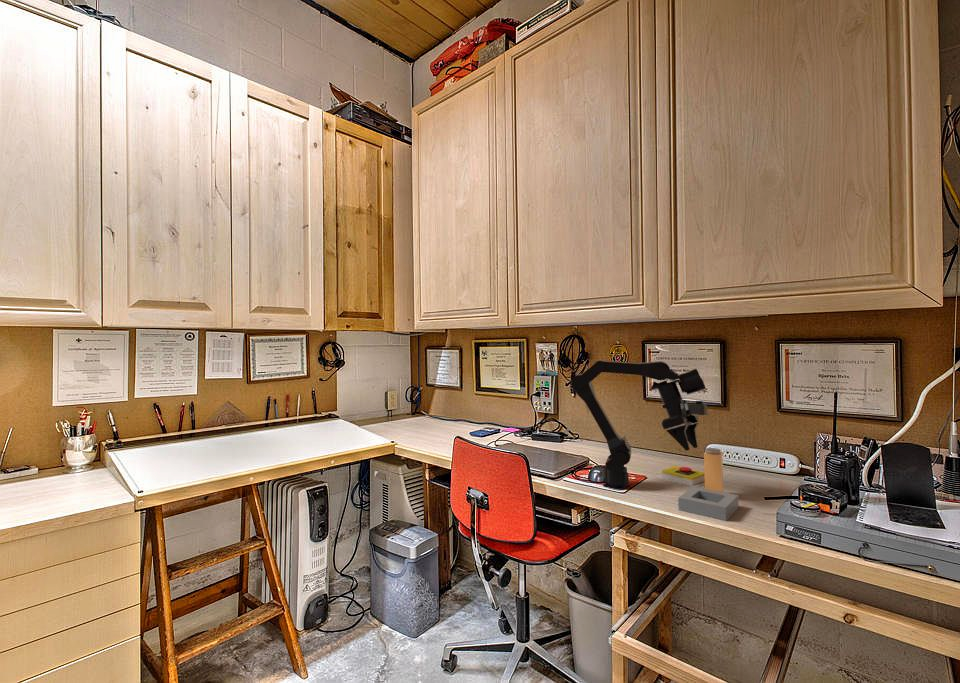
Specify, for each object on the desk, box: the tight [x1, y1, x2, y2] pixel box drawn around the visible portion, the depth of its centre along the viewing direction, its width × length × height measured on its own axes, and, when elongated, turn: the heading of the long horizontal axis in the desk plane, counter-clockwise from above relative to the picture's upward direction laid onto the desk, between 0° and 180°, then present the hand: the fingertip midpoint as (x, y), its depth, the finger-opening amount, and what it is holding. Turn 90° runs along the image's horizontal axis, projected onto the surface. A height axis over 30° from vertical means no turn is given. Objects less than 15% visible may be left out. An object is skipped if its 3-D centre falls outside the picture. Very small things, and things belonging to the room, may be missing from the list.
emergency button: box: [655, 465, 705, 488], centre depth 153 cm, size 9×4×15 cm
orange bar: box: [703, 447, 725, 493], centre depth 136 cm, size 4×4×14 cm
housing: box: [677, 486, 739, 522], centre depth 126 cm, size 12×12×4 cm
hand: (692, 448), depth 136 cm, fingers open, 9 cm apart
